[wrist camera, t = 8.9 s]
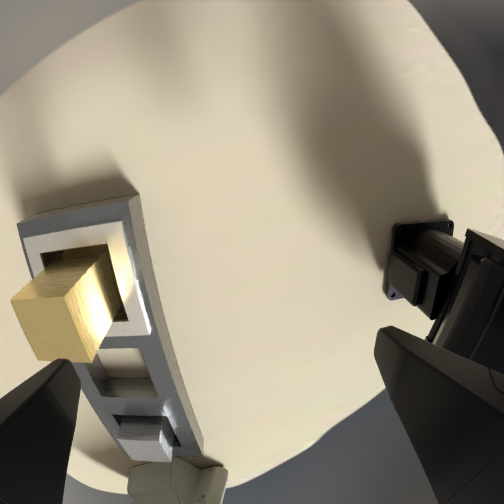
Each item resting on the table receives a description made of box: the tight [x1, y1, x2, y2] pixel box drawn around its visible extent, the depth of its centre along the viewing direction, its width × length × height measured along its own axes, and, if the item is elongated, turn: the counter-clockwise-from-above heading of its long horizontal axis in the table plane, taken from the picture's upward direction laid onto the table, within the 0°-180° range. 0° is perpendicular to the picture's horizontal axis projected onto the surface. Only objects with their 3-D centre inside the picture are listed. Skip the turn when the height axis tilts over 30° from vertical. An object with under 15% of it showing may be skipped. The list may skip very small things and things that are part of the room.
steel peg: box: [117, 415, 174, 462], centre depth 23 cm, size 4×4×5 cm
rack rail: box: [17, 194, 203, 457], centre depth 21 cm, size 9×26×3 cm, turn 4°
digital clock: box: [127, 457, 228, 504], centre depth 25 cm, size 16×9×11 cm, turn 112°
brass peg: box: [10, 243, 123, 363], centre depth 16 cm, size 4×4×8 cm
